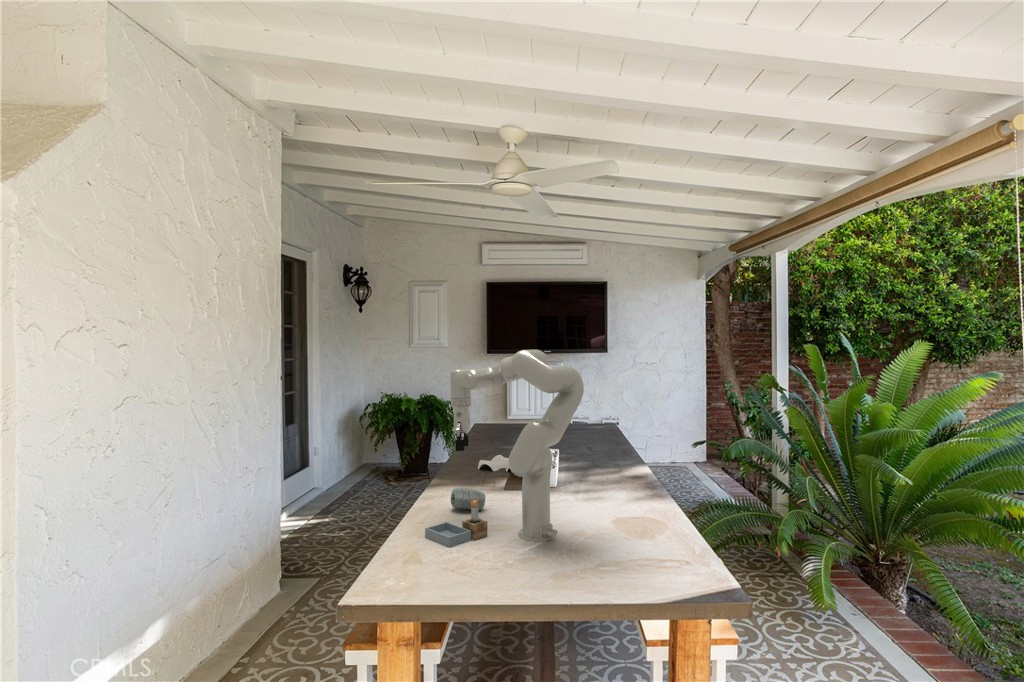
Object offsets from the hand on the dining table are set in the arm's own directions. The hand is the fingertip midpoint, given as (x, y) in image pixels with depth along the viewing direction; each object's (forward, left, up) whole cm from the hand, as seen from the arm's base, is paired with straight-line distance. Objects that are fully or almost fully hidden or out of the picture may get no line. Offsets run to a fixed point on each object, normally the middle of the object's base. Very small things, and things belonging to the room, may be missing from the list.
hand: (462, 448), depth 209 cm
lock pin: (-17, +9, -24) cm, 31 cm away
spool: (+8, -7, -27) cm, 29 cm away
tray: (-13, +17, -26) cm, 34 cm away
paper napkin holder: (+43, -62, -27) cm, 80 cm away
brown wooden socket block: (-17, +9, -26) cm, 33 cm away
